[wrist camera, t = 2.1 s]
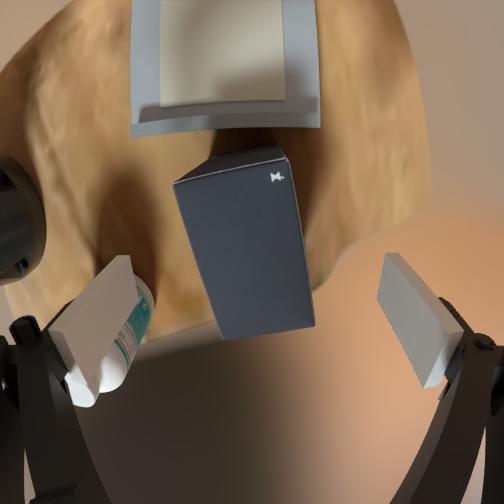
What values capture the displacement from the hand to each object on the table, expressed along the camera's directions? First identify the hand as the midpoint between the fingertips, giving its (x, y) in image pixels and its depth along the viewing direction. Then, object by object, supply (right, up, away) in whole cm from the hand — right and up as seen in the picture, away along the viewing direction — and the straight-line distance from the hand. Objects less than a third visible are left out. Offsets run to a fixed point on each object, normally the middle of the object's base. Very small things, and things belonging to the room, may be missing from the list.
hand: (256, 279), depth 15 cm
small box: (0, +5, +11) cm, 12 cm away
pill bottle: (-14, -3, +15) cm, 21 cm away
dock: (-2, +19, +5) cm, 19 cm away
